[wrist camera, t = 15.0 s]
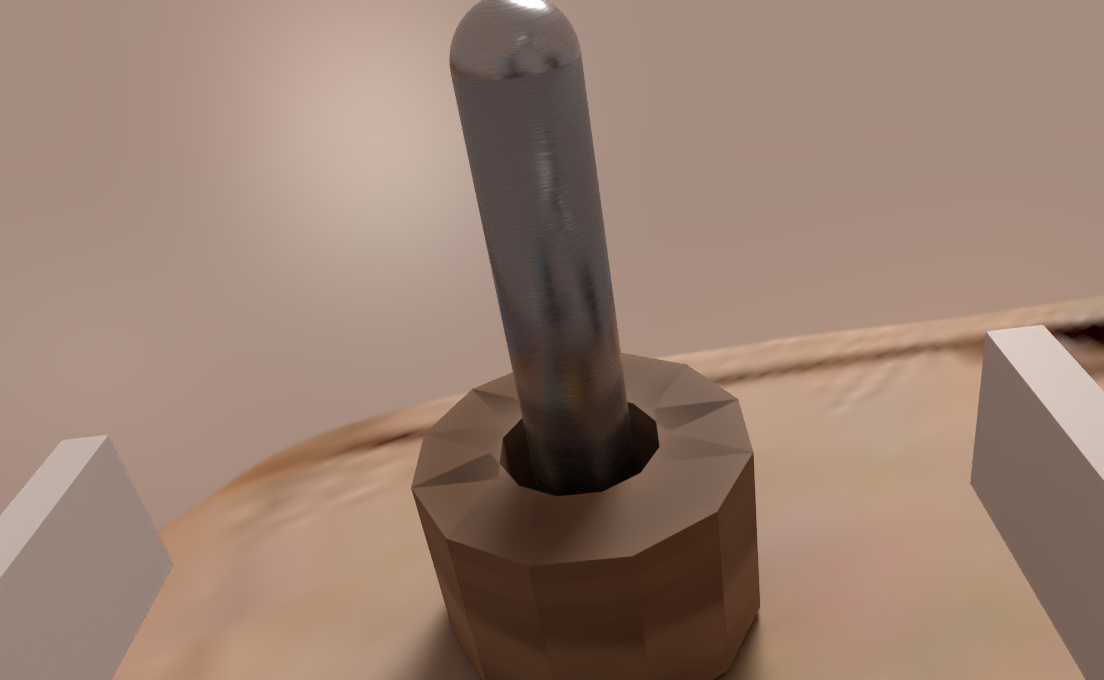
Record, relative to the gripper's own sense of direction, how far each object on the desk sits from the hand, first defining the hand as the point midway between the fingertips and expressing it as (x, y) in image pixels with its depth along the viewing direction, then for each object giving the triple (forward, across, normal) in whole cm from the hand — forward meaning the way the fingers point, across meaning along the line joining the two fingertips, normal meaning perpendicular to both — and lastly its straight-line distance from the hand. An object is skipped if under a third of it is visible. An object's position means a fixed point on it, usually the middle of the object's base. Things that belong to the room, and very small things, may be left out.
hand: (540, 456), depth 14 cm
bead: (+10, 0, -13) cm, 17 cm away
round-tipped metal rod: (+10, 0, -13) cm, 17 cm away
